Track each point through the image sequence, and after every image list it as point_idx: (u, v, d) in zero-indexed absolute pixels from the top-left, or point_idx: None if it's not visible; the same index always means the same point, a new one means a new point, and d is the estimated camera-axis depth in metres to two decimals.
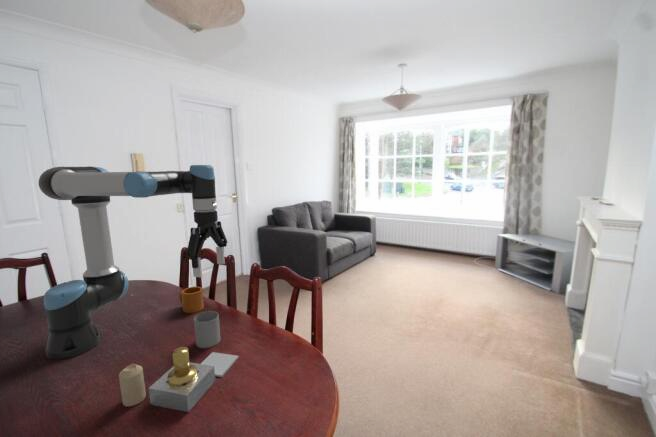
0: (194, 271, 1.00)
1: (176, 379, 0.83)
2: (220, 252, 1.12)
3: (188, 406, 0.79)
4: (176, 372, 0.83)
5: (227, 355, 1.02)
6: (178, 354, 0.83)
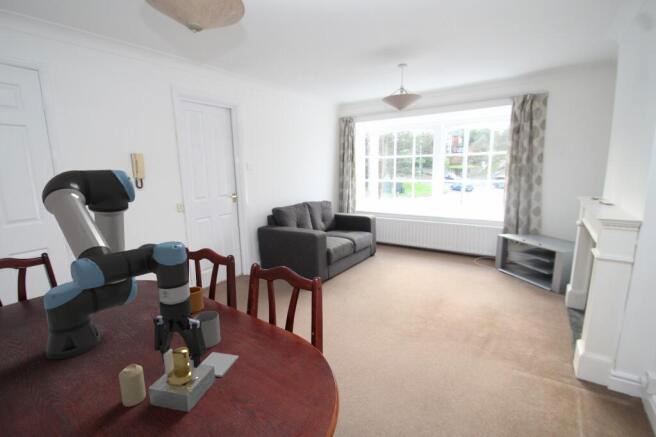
0: None
1: (176, 379, 0.83)
2: None
3: (188, 406, 0.79)
4: (176, 372, 0.83)
5: (227, 355, 1.02)
6: (178, 354, 0.83)
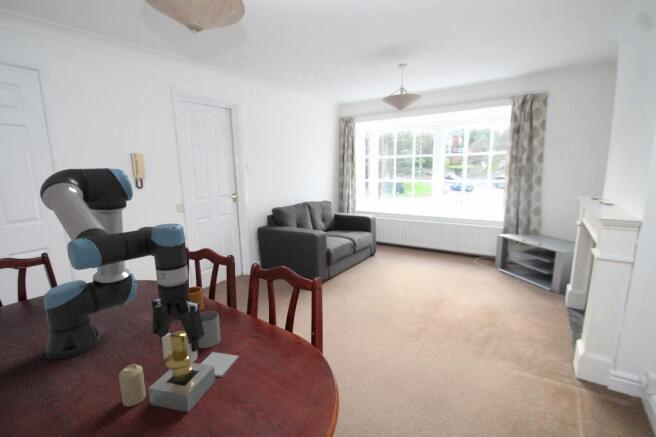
0: None
1: (173, 363, 0.82)
2: None
3: (188, 406, 0.79)
4: (174, 356, 0.83)
5: (227, 355, 1.02)
6: (176, 337, 0.82)
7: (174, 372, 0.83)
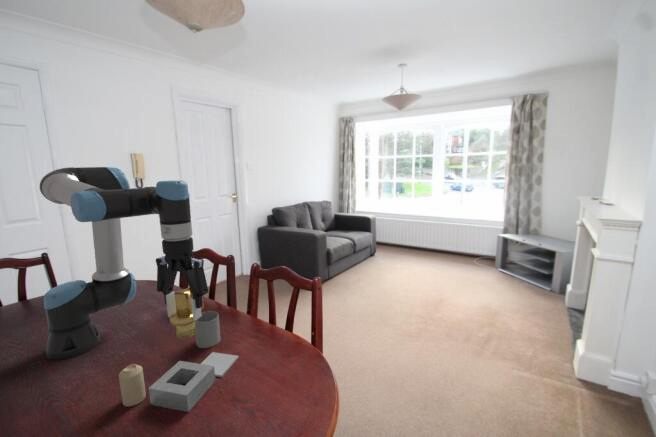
0: None
1: (178, 319, 0.82)
2: None
3: (188, 406, 0.79)
4: (178, 313, 0.83)
5: (227, 355, 1.02)
6: (180, 294, 0.82)
7: (178, 329, 0.83)
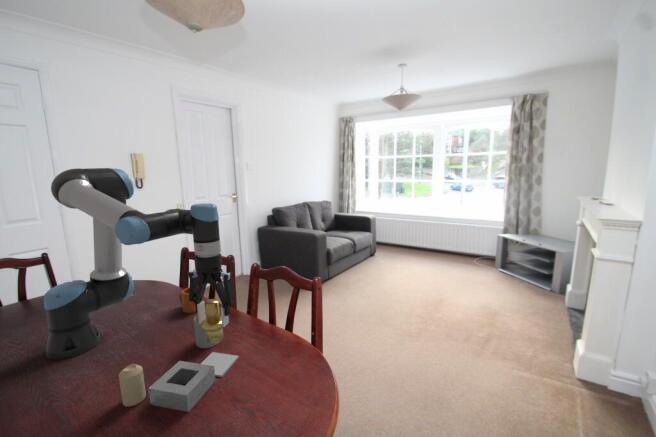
0: None
1: (209, 326, 0.93)
2: None
3: (188, 406, 0.79)
4: (209, 320, 0.94)
5: (227, 355, 1.02)
6: (211, 303, 0.93)
7: (209, 335, 0.94)
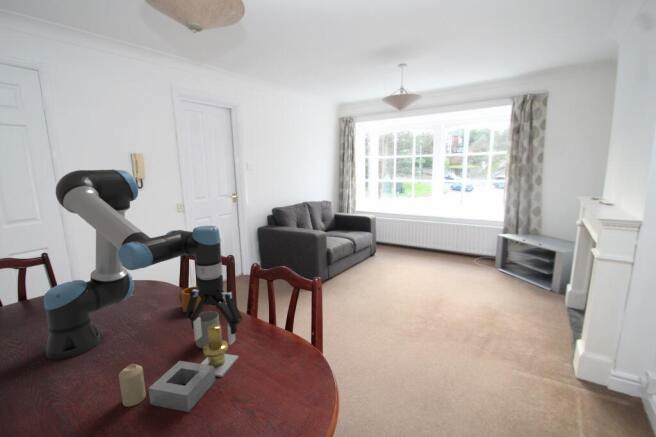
0: None
1: (211, 352, 0.95)
2: None
3: (188, 406, 0.79)
4: (211, 345, 0.95)
5: (227, 355, 1.02)
6: (213, 329, 0.95)
7: (211, 360, 0.96)
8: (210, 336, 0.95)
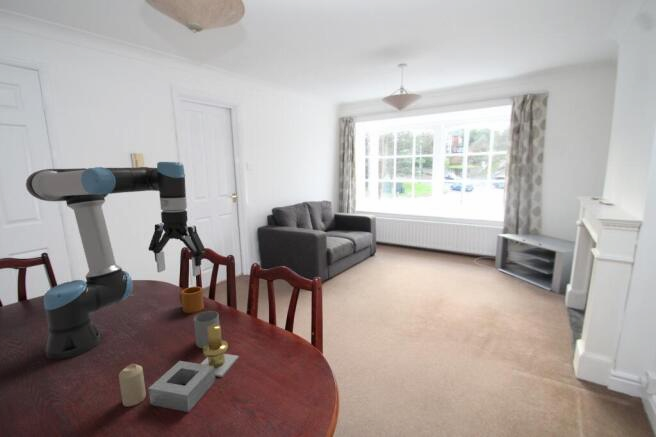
0: None
1: (210, 351, 0.95)
2: None
3: (188, 406, 0.79)
4: (210, 345, 0.95)
5: (227, 355, 1.02)
6: (212, 329, 0.95)
7: (211, 360, 0.96)
8: (210, 336, 0.95)
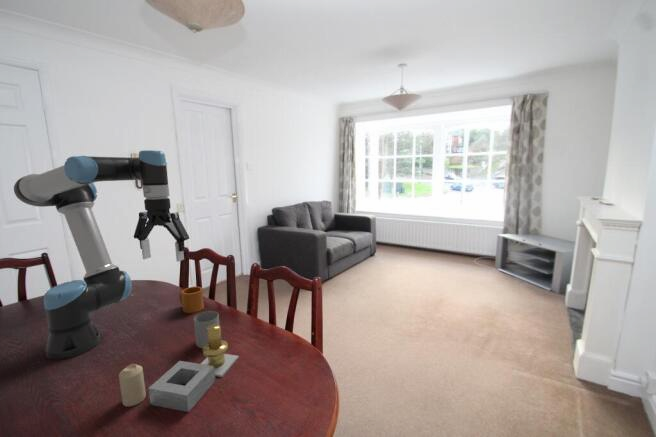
0: None
1: (210, 352, 0.95)
2: None
3: (188, 406, 0.79)
4: (210, 345, 0.95)
5: (227, 355, 1.02)
6: (212, 329, 0.95)
7: (211, 360, 0.96)
8: (210, 336, 0.95)
